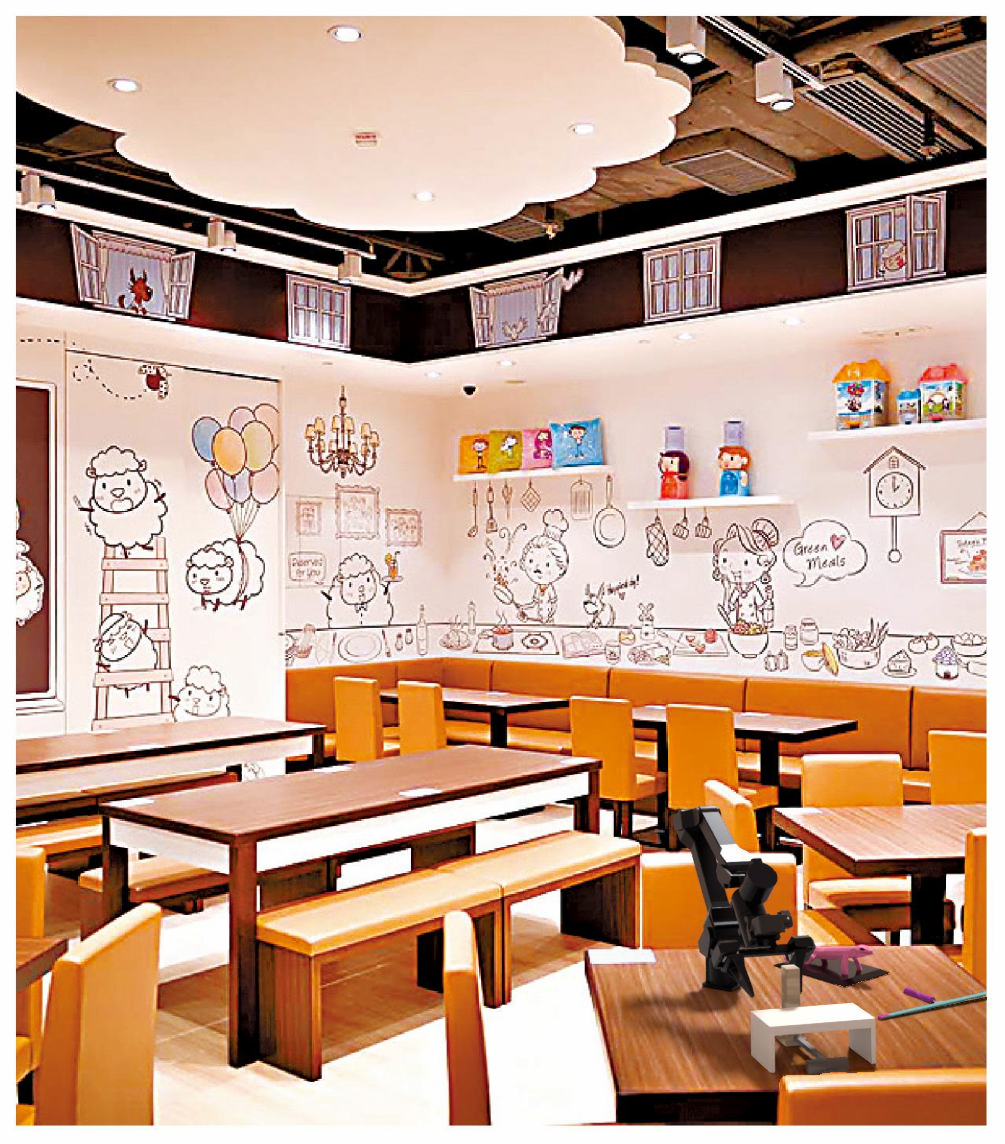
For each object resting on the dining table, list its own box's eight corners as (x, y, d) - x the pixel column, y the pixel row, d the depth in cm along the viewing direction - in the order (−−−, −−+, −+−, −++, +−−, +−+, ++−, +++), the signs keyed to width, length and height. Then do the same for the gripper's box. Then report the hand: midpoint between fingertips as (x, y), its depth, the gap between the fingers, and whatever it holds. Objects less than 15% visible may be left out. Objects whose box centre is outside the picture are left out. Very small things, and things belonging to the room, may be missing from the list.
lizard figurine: (850, 992, 242) (850, 955, 242) (773, 968, 258) (772, 933, 258) (895, 978, 250) (894, 942, 251) (817, 956, 266) (817, 922, 267)
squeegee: (955, 976, 245) (994, 990, 236) (955, 985, 245) (994, 999, 236) (844, 1000, 233) (881, 1016, 224) (844, 1009, 233) (881, 1025, 224)
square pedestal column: (768, 1039, 214) (767, 965, 215) (805, 1036, 216) (803, 962, 216) (809, 1074, 198) (807, 994, 199) (848, 1071, 200) (847, 991, 200)
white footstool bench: (751, 1055, 207) (750, 1010, 207) (853, 1046, 210) (852, 1003, 211) (770, 1072, 199) (769, 1026, 199) (876, 1063, 203) (875, 1018, 203)
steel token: (817, 1081, 196) (817, 1075, 196) (826, 1072, 200) (826, 1066, 200) (844, 1087, 194) (844, 1081, 194) (853, 1078, 197) (853, 1072, 197)
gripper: (716, 897, 223) (739, 976, 212) (811, 891, 226) (839, 969, 215) (701, 928, 230) (723, 1006, 219) (793, 923, 234) (819, 999, 223)
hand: (776, 994), depth 219 cm, fingers open, 9 cm apart
